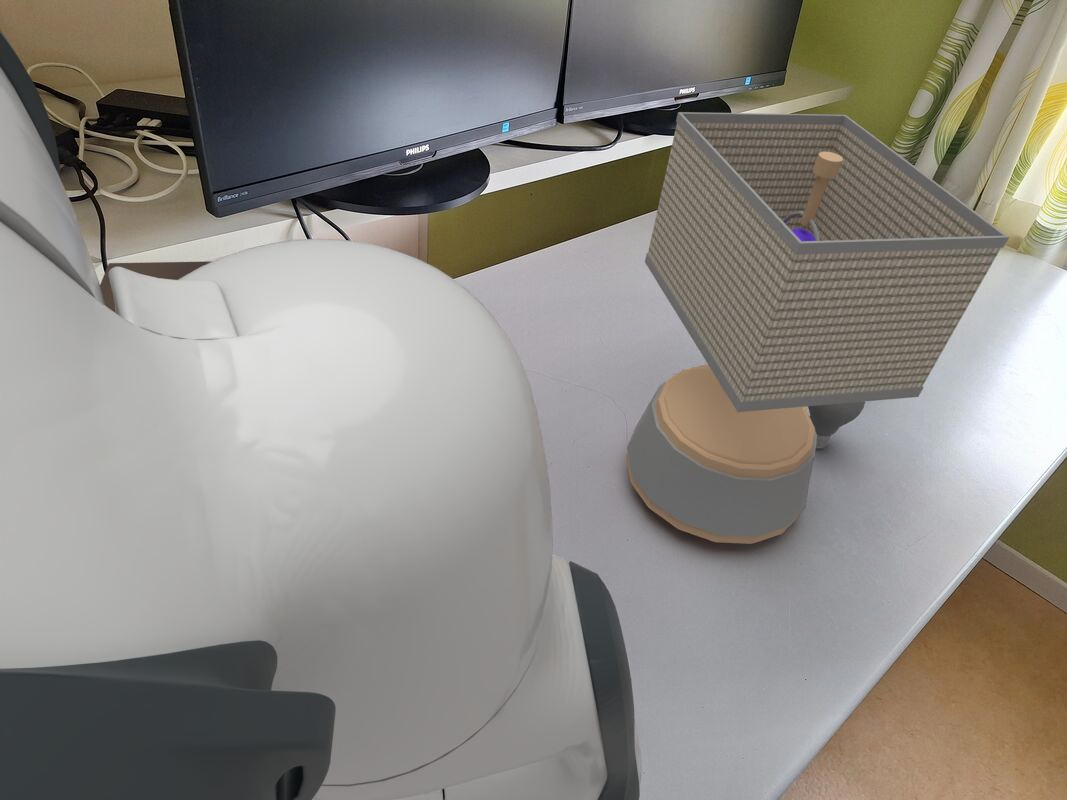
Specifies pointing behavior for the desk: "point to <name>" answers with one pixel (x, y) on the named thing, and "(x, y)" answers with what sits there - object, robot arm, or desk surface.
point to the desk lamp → (790, 306)
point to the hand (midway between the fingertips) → (399, 439)
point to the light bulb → (832, 419)
